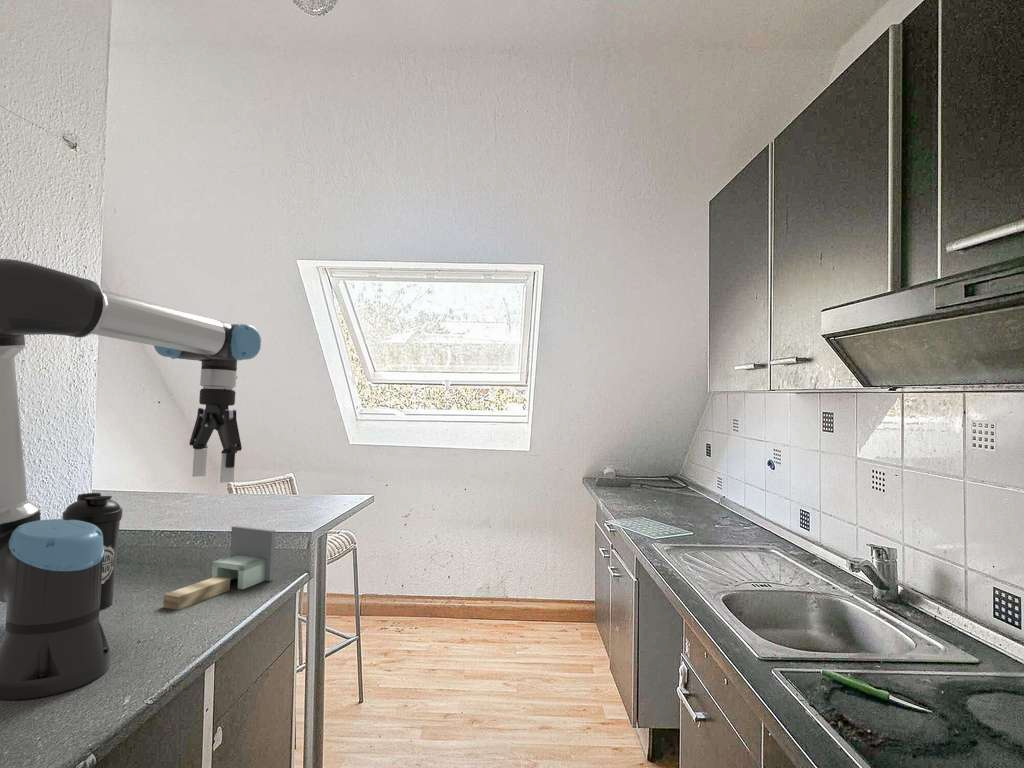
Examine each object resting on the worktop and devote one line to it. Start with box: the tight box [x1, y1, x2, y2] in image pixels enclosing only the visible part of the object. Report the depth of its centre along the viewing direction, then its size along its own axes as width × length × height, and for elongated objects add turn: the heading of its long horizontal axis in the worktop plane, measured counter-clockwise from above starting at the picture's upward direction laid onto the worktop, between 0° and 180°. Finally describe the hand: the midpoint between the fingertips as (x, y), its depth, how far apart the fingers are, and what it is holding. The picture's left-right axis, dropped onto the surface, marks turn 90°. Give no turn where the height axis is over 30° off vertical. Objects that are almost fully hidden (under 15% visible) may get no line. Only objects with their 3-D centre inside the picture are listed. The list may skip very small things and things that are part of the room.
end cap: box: [211, 525, 276, 590], centre depth 141 cm, size 8×12×12 cm
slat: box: [162, 576, 231, 611], centre depth 129 cm, size 14×4×3 cm, turn 162°
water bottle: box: [61, 492, 123, 611], centre depth 122 cm, size 10×10×23 cm
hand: (212, 479), depth 137 cm, fingers open, 13 cm apart
